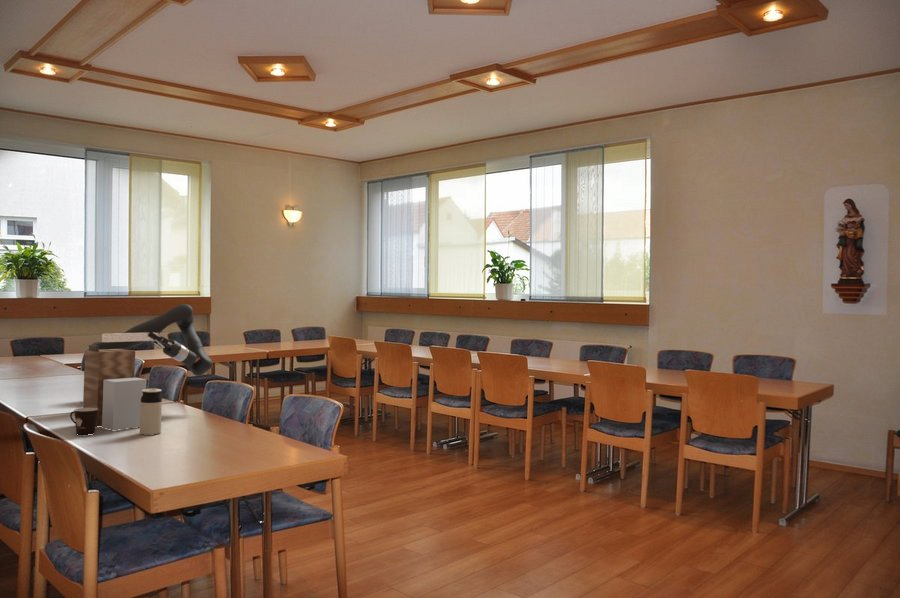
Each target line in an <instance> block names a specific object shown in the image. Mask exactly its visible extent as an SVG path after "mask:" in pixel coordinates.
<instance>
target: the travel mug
mask: <svg viewBox="0 0 900 598" xmlns="http://www.w3.org/2000/svg"><path fill="white" fill-rule="evenodd" d="M142 392H143V395H142V397H141V410H140V428H139V434H140V435H142V434H146V435H145V436H151V435H150V434H156V435H159V434H160V433H162V410H163V409H162V407H163V406H162V405H163V404H162V403H163V397H162V395H161V393H162V389H160V388H146V389H144V390H142ZM158 433H159V434H158Z"/></svg>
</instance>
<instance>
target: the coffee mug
mask: <svg viewBox="0 0 900 598" xmlns="http://www.w3.org/2000/svg"><path fill="white" fill-rule="evenodd" d="M73 414H74V419H75V420H74V419H73V417H72V416H73ZM69 415H70V416H69V418H70V420H71V421H72V423H73V424H74V425H75V434H76V435H77V434H78V435H88V434H93V433H94V434H95V433H96V428H95V427H96V421H97V415H98V408H83V407H80V408H76V409H74V410H73V411H71V412H70V413H69ZM94 434H93V435H94ZM78 435H77V436H78Z"/></svg>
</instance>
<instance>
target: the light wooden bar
mask: <svg viewBox="0 0 900 598" xmlns="http://www.w3.org/2000/svg"><path fill="white" fill-rule="evenodd" d="M152 333H154V332H152ZM148 334H149V333H124V332H121V333H120V332H119V333H115V332H114V333H102V334H101V342H129V341H147V342H150V341H155V340H154V339H152V338H151V337H149V336H148ZM154 334H156V335H157V336H159V334H158V333H154Z"/></svg>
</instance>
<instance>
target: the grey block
mask: <svg viewBox="0 0 900 598" xmlns="http://www.w3.org/2000/svg"><path fill="white" fill-rule="evenodd" d="M147 381H148V380H147V379H145V378H140V377H137V376H136V377H135V376H134V378H121V379H108V380H104V382H103V410H102V427H103V428H107V429H111V430H118V429H126V428H134V427H140V410H141V397H142V395H143V392H142V390H144V389H147ZM102 427H101V428H102ZM134 429H135V428H134ZM126 430H127V429H126Z"/></svg>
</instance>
